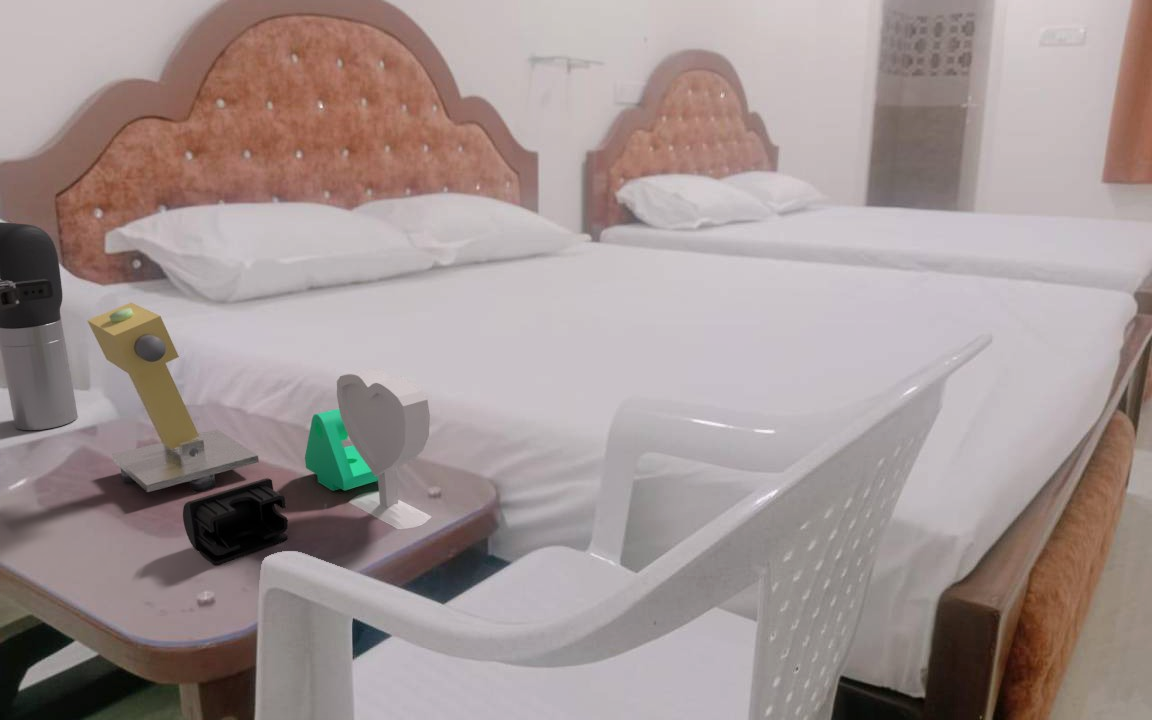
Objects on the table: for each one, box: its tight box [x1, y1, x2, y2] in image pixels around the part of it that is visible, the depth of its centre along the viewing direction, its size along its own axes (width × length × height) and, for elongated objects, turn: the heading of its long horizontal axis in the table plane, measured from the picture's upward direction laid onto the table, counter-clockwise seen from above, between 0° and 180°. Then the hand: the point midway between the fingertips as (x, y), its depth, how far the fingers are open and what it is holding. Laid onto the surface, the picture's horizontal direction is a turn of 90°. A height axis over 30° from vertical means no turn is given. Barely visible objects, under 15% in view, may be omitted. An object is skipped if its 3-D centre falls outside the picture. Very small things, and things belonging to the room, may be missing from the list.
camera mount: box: [304, 408, 378, 491], centre depth 123 cm, size 12×8×10 cm, turn 40°
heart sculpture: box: [336, 368, 433, 530], centre depth 113 cm, size 16×5×18 cm, turn 45°
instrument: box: [86, 302, 199, 450], centre depth 122 cm, size 16×6×20 cm, turn 42°
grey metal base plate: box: [111, 428, 259, 493], centre depth 127 cm, size 15×15×6 cm
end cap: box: [182, 477, 289, 567], centre depth 106 cm, size 10×7×7 cm
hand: (50, 288), depth 111 cm, fingers closed
